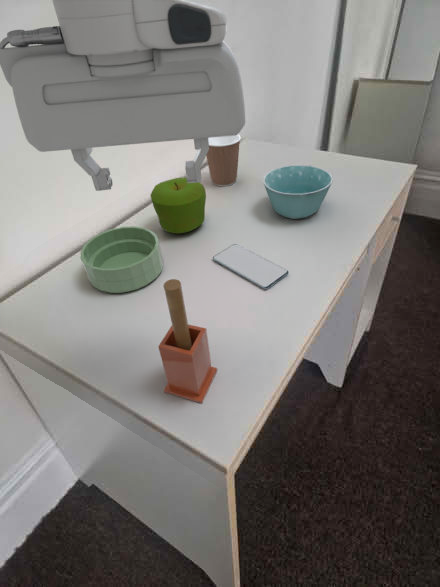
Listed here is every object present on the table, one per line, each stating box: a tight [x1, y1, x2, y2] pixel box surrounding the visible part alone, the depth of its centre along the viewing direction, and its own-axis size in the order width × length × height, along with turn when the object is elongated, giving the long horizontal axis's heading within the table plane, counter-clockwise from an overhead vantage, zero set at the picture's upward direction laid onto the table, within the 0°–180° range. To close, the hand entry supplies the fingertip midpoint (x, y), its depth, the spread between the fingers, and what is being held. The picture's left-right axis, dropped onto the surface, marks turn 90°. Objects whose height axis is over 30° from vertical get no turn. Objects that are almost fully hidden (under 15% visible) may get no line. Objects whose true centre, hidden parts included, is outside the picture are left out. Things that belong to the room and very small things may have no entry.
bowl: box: [262, 164, 333, 220], centre depth 88 cm, size 16×16×8 cm
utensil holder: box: [157, 323, 218, 404], centre depth 52 cm, size 6×6×10 cm
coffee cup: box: [205, 134, 242, 187], centre depth 102 cm, size 10×10×12 cm
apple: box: [150, 177, 207, 234], centre depth 85 cm, size 12×12×11 cm
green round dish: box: [79, 225, 164, 294], centre depth 75 cm, size 15×15×6 cm
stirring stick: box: [163, 278, 192, 351], centre depth 48 cm, size 2×2×18 cm
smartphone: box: [212, 243, 289, 290], centre depth 74 cm, size 7×1×15 cm
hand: (149, 184), depth 39 cm, fingers open, 8 cm apart
